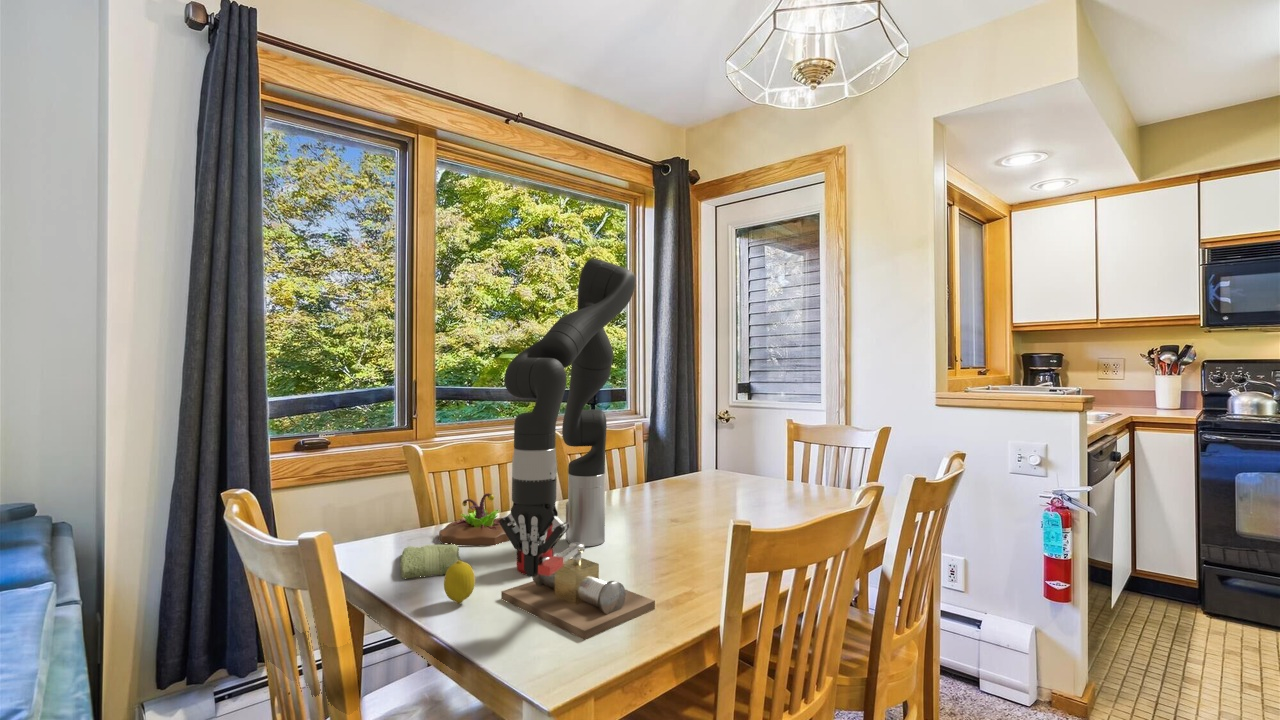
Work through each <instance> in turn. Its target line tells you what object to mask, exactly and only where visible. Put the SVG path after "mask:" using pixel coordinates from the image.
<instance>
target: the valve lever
mask: <svg viewBox="0 0 1280 720" xmlns="http://www.w3.org/2000/svg"><path fill="white" fill-rule="evenodd" d="M568 544H569V545H568V546H569V547H567V548H566V549H563V551H561V552H560V553H558V554H557V555H555V556H551V557H550V558H548V559H547V560H545V561H544V562H542V563H541V564H539V565H538V574H539V575H547V576H550V575H552V574H553V573H554V572H556V571H557V570H559V569H560V568H561V567H563V563H564V562H566V561H567V560H569V559H572V558H573V556H574V555H576V554H577V553H581V554H582V553H583V552H585V546H584V543H582V542H573V543H568Z"/></svg>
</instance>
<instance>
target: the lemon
mask: <svg viewBox="0 0 1280 720" xmlns="http://www.w3.org/2000/svg"><path fill="white" fill-rule="evenodd" d="M475 585H476V578H475V573H474V570H473V568H472V566H471V565H470V564H469V563H467V562H465V561H463V560H461V559H460V560H459V561H457V562H456V563H454V564H453V565H451V566H450V567H449V568H448V570H447V572H446V574H445V575H444V580H443V589H444V592H445V595H446V596H447V598H448V599H450V600H451V601H453V602H455V603H457V605H458V604H462V602H464V601H465V600H467V599H468V598H469V597H471V595H472V594H473V591H474V590H475V587H476V586H475Z"/></svg>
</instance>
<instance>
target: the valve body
mask: <svg viewBox="0 0 1280 720" xmlns="http://www.w3.org/2000/svg"><path fill="white" fill-rule="evenodd" d="M548 558H550V557H547V556H546V557H543V562H544V561H545V560H547V559H548ZM599 565H600V564H599V563H598V562H594V561H592V560H589V559H586V558H583V557H582V553H577V554H576V555H574V556H573V557H571V558H570V559H569V560H567V561H566V562H564V563H563V567H561V568H560V569H559V570H557V571H556V572H554V573H553V574H552V575H550V576H547V575H537V576H536V577H531V578H532V581H534V583H535V584H537V585H539V586H542V585H547V586H550V587H552V588H554V589H555V596H556V597H559V598H561V599H563V600H566V601H568V602H570V603H573V604H575V605H577V604H579V603H582V602H584V601H585V602H588V603H590V604H592V605H595V606H597V607H599V609H600V611H601V612H602V613H604V614H610V613H612V612H615V611H617V610H619V609H621V608H622V607H623V605H624V602H625V597H626V592H625V590H626V588H625V587H624V586H625V585H624V584H622V583H621V582H620V581H616V580H610V581H606V580H603V579H600V578H599V577H600V576H599V575H600V569H599V567H600V566H599Z"/></svg>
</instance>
